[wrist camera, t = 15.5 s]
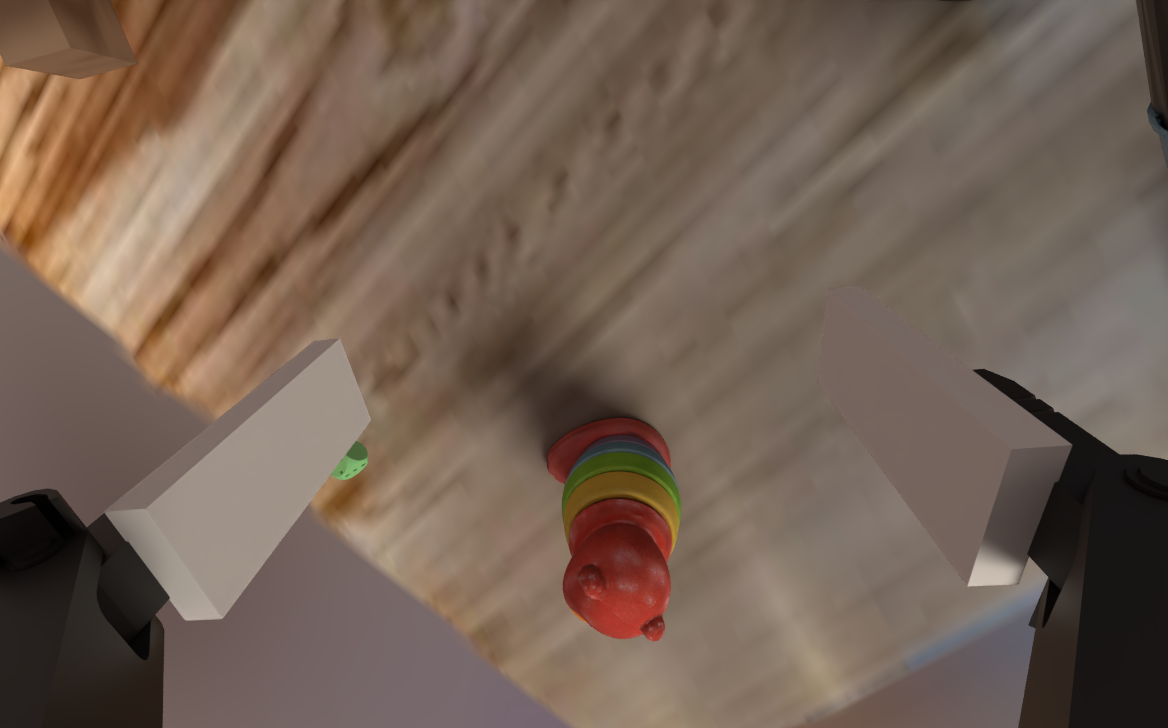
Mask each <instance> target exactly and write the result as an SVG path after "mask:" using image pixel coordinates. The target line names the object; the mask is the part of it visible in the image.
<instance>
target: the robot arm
mask: <svg viewBox="0 0 1168 728" xmlns="http://www.w3.org/2000/svg"><path fill="white" fill-rule="evenodd" d="M941 1H970V0H941ZM1136 3H1137V10H1138V16H1139V23H1140V30H1141V36H1142V43H1143V50H1144V56H1145V63H1146V70H1147V77H1148V83H1149V90H1150V97H1151V103H1150V105H1149V107H1148V109H1147V112H1148V118H1149V122H1150V124H1151V126H1152V128H1153V130H1154V131H1155V132H1156V133H1158V134H1159V136H1160V140H1161V144H1162V149H1163V153H1164V157H1165V161H1166V165H1167V169H1168V0H1136ZM818 384H819V385H820V386H821V388H822V389H823V390H824V392H825V393H826V394H827V396H828V397H829V399H830V400H831V401H832V403H833V404H834V405H835V407H836V408H837V409H838V411H839V412H840V413H841V415H842V416H843V418H844V419H845V420H846V422H847V423H848V424H849V426H850V427H851V428H852V430H853V431H854V433H855V434H856V435H857V437H858V438H859V439H860V441H861V442H862V443H863V445H864V446H865V448H866V449H867V450H868V452H869V453H870V454H871V456H872V457H873V458H874V460H875V461H876V463H877V464H878V465H879V467H880V468H881V469H882V471H883V472H884V473H885V475H886V476H887V477H888V479H889V480H890V482H891V483H892V484H893V486H894V487H895V488H896V490H897V491H898V492H899V494H900V495H901V497H902V498H903V499H904V501H905V502H906V503H907V505H908V506H909V507H910V509H911V510H912V512H913V513H914V514H915V516H916V517H917V518H918V520H919V521H920V522H921V524H922V525H923V527H924V528H925V529H926V531H927V532H928V533H929V535H930V536H931V537H932V539H933V540H934V541H935V543H936V544H937V546H938V547H939V548H940V550H941V551H942V552H943V554H944V555H945V556H946V558H947V559H948V561H949V562H950V563H951V565H952V566H953V567H954V569H955V570H956V571H957V573H958V574H959V576H960V577H961V578H962V580H963V581H964V582H965V584H966V585H967V586H985V585H1008V584H1019V581H1020V579H1021V576H1022V574H1023V571H1024V568H1025V566H1026V563H1027V561H1028V558H1029V556H1030V558H1031V559H1032V560H1033V561H1034V562H1035V563H1036V564H1037V565H1038V566H1039V567H1040V568H1041V570H1042V571H1043V572H1044V573H1045V574H1046V575H1047V576H1048V580H1047V582H1046V584H1045V587H1044V589H1043V592H1042V594H1041V596H1040V599H1039V601H1038V603H1037V606H1036V608H1035V610H1034V613H1033V615H1032V617H1031V620H1030V622H1029V626H1031V627H1034V628H1036V630H1035V635H1034V642H1033V647H1032V653H1031V658H1030V664H1029V670H1028V675H1027V681H1026V687H1025V693H1024V698H1023V704H1022V710H1021V715H1020V721H1019V727H1018V728H1168V460H1165V459H1161V458H1155V457H1149V456H1143V455H1137V454H1132V455H1120V454H1118V453H1117V452H1115V451H1114V450H1112V449H1111V448H1109V447H1108V446H1107V445H1105V444H1104V443H1102V442H1101V441H1099V440H1098V439H1097V438H1095V437H1094V436H1092V435H1091V434H1089V433H1088V432H1086V431H1085V430H1084V429H1082V428H1081V427H1079V426H1078V425H1076V424H1075V423H1074V422H1072V421H1071V420H1069V419H1068V418H1066V417H1065V416H1063V415H1062V414H1061V413H1059V412H1054V409H1053V408H1052V407H1051V406H1049V405H1048V404H1046V403H1045V402H1043V401H1042V400H1040V399H1036V398H1035V395H1033V394H1032V393H1030V392H1029V391H1028V390H1026V389H1025V388H1023V387H1022V386H1020V385H1019V384H1017V383H1016V382H1015V381H1013V380H1010V379H1008V378H1005V377H1003V376H1000V375H998V374H995V373H993V372H990V371H988V370H985V369H977V370H971V369H970V368H969V367H967V366H966V365H965V364H963V363H962V362H961V361H959V360H958V359H957V358H955V357H954V356H952V355H951V354H950V353H948V352H947V351H946V350H944V349H943V348H942V347H940V346H939V345H938V344H936V343H935V342H934V341H932V340H931V339H930V338H928V337H927V336H926V335H924V334H923V333H922V332H920V331H919V330H918V329H916V328H915V327H914V326H912V325H911V324H910V323H908V322H907V321H906V320H904V319H903V318H902V317H900V316H899V315H897V314H896V313H895V312H893V311H892V310H891V309H889V308H888V307H887V306H885V305H884V304H883V303H881V302H880V301H879V300H877V299H876V298H875V297H873V296H872V295H871V294H869V293H868V292H867V291H865V290H864V289H863V288H861V287H860V286H849V287H839V288H830V289H827V295H826V305H825V315H824V325H823V336H822V346H821V356H820V366H819V377H818ZM370 421H371V419H370V416H369V413H368V411H367V408H366V406H365V403H364V400H363V398H362V395H361V393H360V390H359V387H358V385H357V382H356V380H355V377H354V374H353V372H352V369H351V367H350V364H349V361H348V359H347V356H346V354H345V351H344V348H343V346H342V343H341V341H340V339H330V340H320V341H314V342H312V343H311V344H310V345H309V346H307V347H306V348H305V349H304V350H303V351H301V352H300V353H299V354H298V355H296V356H295V357H294V358H293V359H291V360H290V361H289V362H288V363H286V364H285V365H284V366H283V367H282V368H280V369H279V370H278V371H277V372H275V373H274V374H273V375H272V376H270V377H269V378H268V379H267V380H265V381H264V382H263V383H262V384H261V385H259V386H258V387H257V388H256V389H254V390H253V391H252V392H251V393H249V394H248V395H247V396H246V397H245V398H243V399H242V400H241V401H240V402H238V403H237V404H236V405H235V406H233V407H232V408H231V409H230V410H228V411H227V412H226V413H225V414H224V415H222V416H221V417H220V418H219V419H217V420H216V421H215V422H214V423H212V424H211V425H210V426H209V427H207V428H206V429H205V430H204V431H203V432H201V433H200V434H199V435H198V436H196V437H195V438H194V439H193V440H191V441H190V442H189V443H188V444H187V445H185V446H184V447H183V448H182V449H181V450H179V451H178V452H177V453H175V454H174V455H173V456H172V457H171V458H169V459H168V460H167V461H165V462H164V463H163V464H162V465H161V466H159V467H158V468H157V469H156V470H154V471H153V472H152V473H151V474H150V475H148V476H147V477H146V478H145V479H143V480H142V481H141V482H140V483H138V484H137V485H136V486H135V487H133V488H132V489H131V490H130V491H128V492H127V493H126V494H125V495H124V496H122V497H121V498H120V499H119V500H117V501H116V502H115V503H114V504H112V505H111V506H110V507H109V508H107V509H106V510H105V511H104V514H103V515H101V516H100V517H99V518H98V519H97V520H95V521H94V522H93V523H92V524H91V525H89V526H88V527H87V528H86V526H85V525H84V524H83V523H82V521H81V520H80V519H79V518H78V516H77V515H76V514H75V513H74V511H73V510H72V509H71V507H70V506H69V505H68V503H67V502H66V501H65V500H64V499H63V497H62V496H61V495H60V493H59V492H58V491H57V490H53V489H43V490H35V491H31V492H28V493H25V494H22V495H18V496H15V497H13V498H10V499H8V500H6V501H3V502H1V503H0V728H162V723H163V721H162V720H163V671H164V628H163V625H162V623H161V622H160V620H159V619H158V618H157V617H156V615H155V614H156V613H157V612H158V611H159V610H160V609H161V608H162V606H163V605H164V604H165V603H166V602H167V601H168V599H170V601H171V602H172V603H173V605H174V606H175V607H176V609H177V610H178V611H179V613H180V614H181V615H182V617H183V618H184V619H185V620H204V619H205V620H207V619H223V617H224V616H225V615H226V613H227V612H228V610H229V609H230V608H231V607H232V605H233V604H234V603H235V601H236V600H237V599H238V597H239V596H240V594H241V593H242V592H243V590H244V589H245V588H246V587H247V585H248V584H249V582H250V581H251V580H252V579H253V577H254V576H255V575H256V573H257V572H258V571H259V569H260V568H261V567H262V565H263V564H264V563H265V561H266V560H267V559H268V557H269V556H270V555H271V553H272V552H273V551H274V549H275V548H276V547H277V545H278V544H279V543H280V541H281V540H282V539H283V537H284V536H285V535H286V533H287V532H288V531H289V529H290V528H291V527H292V525H293V524H294V523H295V521H296V520H297V519H298V517H299V516H300V515H301V513H302V512H303V511H304V509H305V508H306V507H307V505H308V504H309V503H310V501H311V500H312V499H313V497H314V496H315V495H316V493H317V492H318V491H319V489H320V488H321V487H322V485H323V484H324V483H325V481H326V480H327V479H328V477H329V476H330V475H331V473H332V472H333V471H334V469H335V468H336V467H337V465H338V464H339V463H340V461H341V460H342V459H343V457H344V456H345V455H346V453H347V452H348V451H349V449H350V448H351V447H352V445H353V444H354V443H355V441H356V440H357V439H358V437H359V436H360V435H361V433H362V432H363V431H364V429H365V428H366V427H367V425H368V424H369V423H370Z"/></svg>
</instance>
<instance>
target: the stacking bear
mask: <svg viewBox="0 0 1168 728" xmlns="http://www.w3.org/2000/svg"><path fill="white" fill-rule="evenodd" d="M547 460H548V463H547V468H548V471H549V472H550V473H551V474H552V475H554V477H555V479H556V480H558V481H559V482H562V483H564V484H565V487H564V492H563V497H562V516H563V522H564V529H565V535H566V539H567V543H568V546H569V549H570V553H571V556H572V558H571V560H570V562H569V564H568V566H567V569H566V571H565V575H564V579H563V593H564V598H565V601H566V603H567V604H568V606H569V607H570V609H571V610H572V612H573V613H574V614H575V615H576V616H577V617H578V618H580V619H581V620H582V621H584V622H586V623H588V624H589V625H590V626H591V627H593V628H594V629H596V630H597V631H599V632H600V633H602V634H604V635H606V636H609V637H612V638H618V639H628V638H633V637H637V636H639V635H642V634H644V635H645V636H646V638H648V639H649V640H651V641H658V640H659V639H660V638H661V637H662V636H663V634H664V630H665V624H664V620H663V618H662V615H663V613H664V611H665V610H666V607H667V605H668V601H669V597H670V590H671V582H670V574H669V570H668V566H667V564H666V563H667V561H668V559H669V557H670V555H671V553H672V551H673V549H674V546H675V543H676V539H677V534H678V528H679V524H680V516H681V500H680V494H679V489H678V485H677V483H676V480H675V478H674V475H673V473H672V471H671V469H670V465H671V461H670V454H669V450H668V447H667V445H666V443H665V441H664V440H663V438H662V437H661V436H660V435H659V434H658V433H657V432H656V431H655V430H654V429H653V428H651V427H650V426H648V425H646V424H644V423H642V422H640V421H637V420H634V419H629V418H612V419H604V420H600V421H595V422H592V423H589V424H586V425H584V426H581V427H579V428H577V429H575V430H573V431H571V432H569V433H568V434H566V435H565V436H564V437H562V438H561V439H560V440H559V441H557V442H556V443H555V444H554V445H553V446H552V447H551V449H550V450H549V452H548V454H547Z"/></svg>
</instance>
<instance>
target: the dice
mask: <svg viewBox="0 0 1168 728" xmlns="http://www.w3.org/2000/svg"><path fill="white" fill-rule="evenodd" d="M367 462H368V453H367V450H366V448H365V447H364V446H363V445H362V444H361V443H359V442H357V441H355V443H354V444H353V445H352V447H351V448H350V449H349V451H348V452H347V453H346V455H345V456H344V457H343V459H342V460H341V461H340V463H339V464H338V465H337V467H336V468H335V469H334V471H333V472H332V473H331V475H332V476H333V477H335V478H337V479H341V480H347V479H349V478H351V477H353V476H355V475H356V474H358V473H359V472H360V471H361V470H362V469H363V468H364V467H365V466H366V465H367Z"/></svg>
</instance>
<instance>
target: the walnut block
mask: <svg viewBox="0 0 1168 728" xmlns="http://www.w3.org/2000/svg"><path fill="white" fill-rule="evenodd" d="M0 54H1V56H2V58H3V60H4V62H5V64H6V66H10V67H16V68H21V69H27V70H32V71H38V72H43V73H49V74H54V75H60V76H65V77H71V78H76V79H83V78H86V77H90V76H94V75H97V74H101V73H105V72H108V71H112V70H116V69H119V68H123V67H127V66H130V65H134V64H138V63H137V61H136V59H135V57H134V54H133V52H132V50H131V47H130V45H129V43H128V40H127V38H126V36H125V33H124V31H123V29H122V27H121V24H120V22H119V20H118V17H117V15H116V13H115V10H114V8H113V6H112V3H111V1H110V0H0Z"/></svg>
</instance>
